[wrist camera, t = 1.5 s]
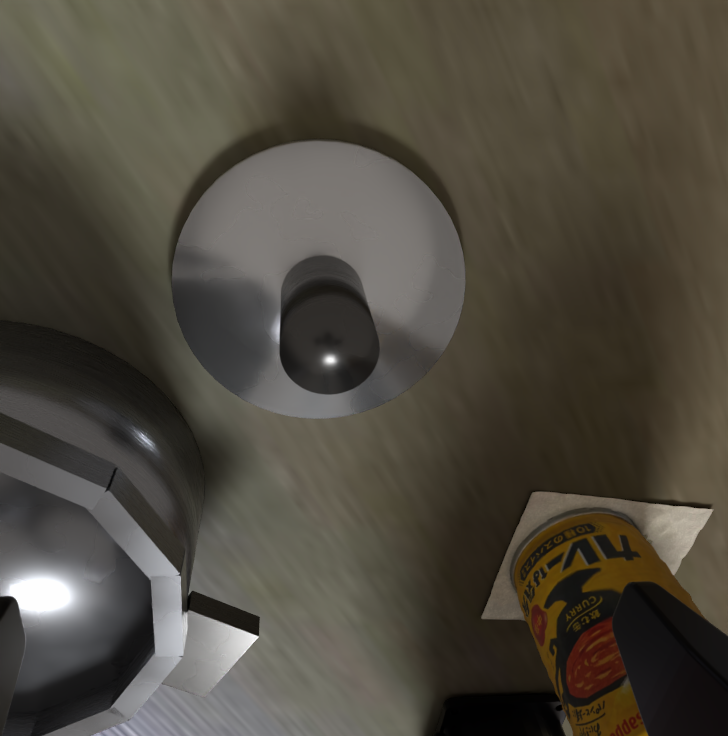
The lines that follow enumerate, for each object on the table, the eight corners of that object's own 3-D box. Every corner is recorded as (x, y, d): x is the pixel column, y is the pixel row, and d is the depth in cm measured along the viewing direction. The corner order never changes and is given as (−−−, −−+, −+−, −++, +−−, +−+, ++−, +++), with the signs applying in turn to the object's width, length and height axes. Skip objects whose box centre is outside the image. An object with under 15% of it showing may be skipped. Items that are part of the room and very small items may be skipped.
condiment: (530, 488, 25) (707, 813, 15) (711, 506, 27) (987, 810, 16) (478, 614, 28) (593, 955, 18) (643, 623, 30) (836, 941, 19)
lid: (485, 154, 19) (542, 188, 15) (433, 412, 23) (466, 495, 19) (173, 119, 18) (136, 146, 13) (178, 400, 22) (151, 487, 17)
